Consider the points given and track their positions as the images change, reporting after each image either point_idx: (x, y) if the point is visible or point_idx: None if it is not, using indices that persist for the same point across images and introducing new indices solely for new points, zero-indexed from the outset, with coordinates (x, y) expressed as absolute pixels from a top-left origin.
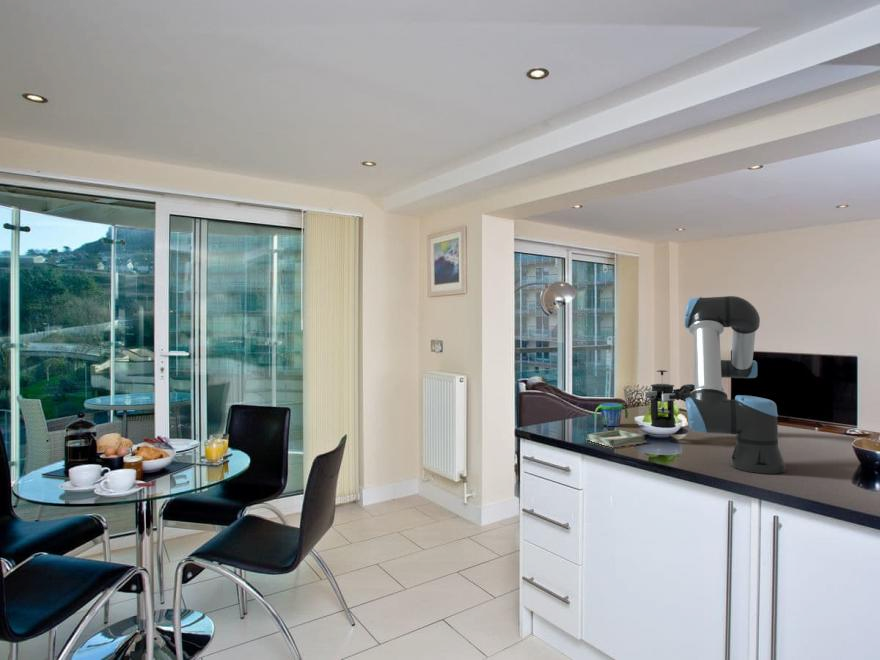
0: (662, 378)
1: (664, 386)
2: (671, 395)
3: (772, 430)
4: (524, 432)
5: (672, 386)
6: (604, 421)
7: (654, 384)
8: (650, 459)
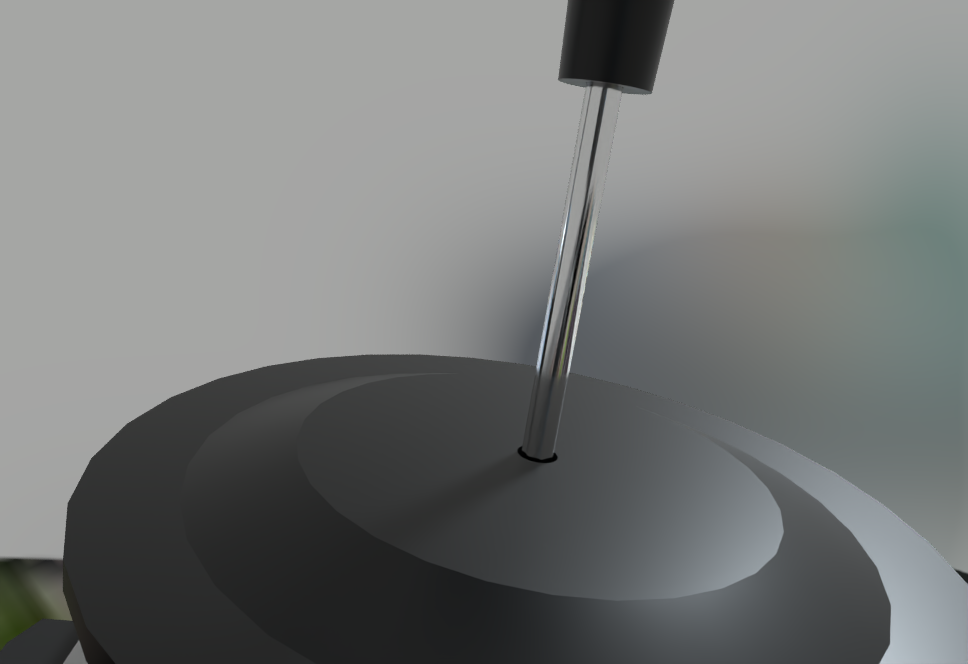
0: (561, 227)
1: (256, 371)
2: (52, 646)
3: None
4: (965, 573)
5: (83, 497)
6: None
7: (867, 515)
8: (24, 603)
